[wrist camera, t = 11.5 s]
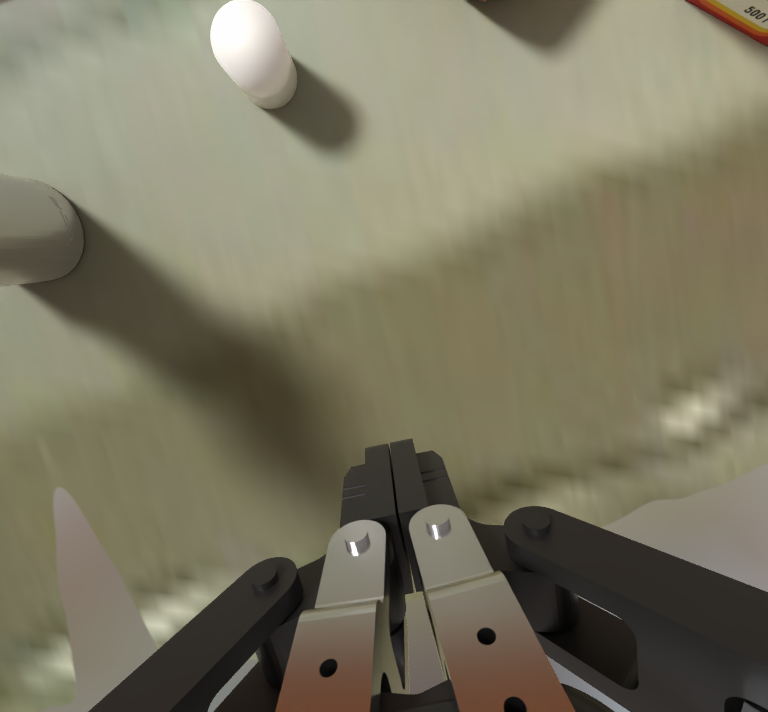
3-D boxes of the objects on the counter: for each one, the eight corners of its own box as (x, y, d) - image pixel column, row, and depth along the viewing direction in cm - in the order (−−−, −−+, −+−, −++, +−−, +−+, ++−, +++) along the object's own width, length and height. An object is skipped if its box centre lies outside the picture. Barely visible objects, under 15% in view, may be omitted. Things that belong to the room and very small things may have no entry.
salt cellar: (249, 114, 38) (222, 87, 31) (232, 51, 36) (200, 8, 29) (303, 102, 37) (289, 72, 31) (288, 38, 36) (270, -9, 29)
